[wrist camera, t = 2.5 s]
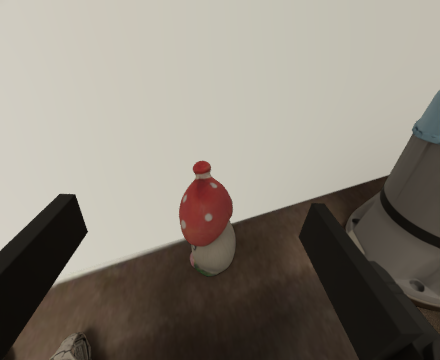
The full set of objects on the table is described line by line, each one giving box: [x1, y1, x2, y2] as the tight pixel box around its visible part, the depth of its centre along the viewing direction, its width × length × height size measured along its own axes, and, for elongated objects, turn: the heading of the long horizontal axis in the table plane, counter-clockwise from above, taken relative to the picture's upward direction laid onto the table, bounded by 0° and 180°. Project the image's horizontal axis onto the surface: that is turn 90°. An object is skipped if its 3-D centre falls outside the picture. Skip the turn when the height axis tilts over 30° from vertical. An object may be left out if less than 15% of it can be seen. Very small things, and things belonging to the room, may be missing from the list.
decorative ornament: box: [179, 161, 236, 277], centre depth 27 cm, size 9×6×15 cm
